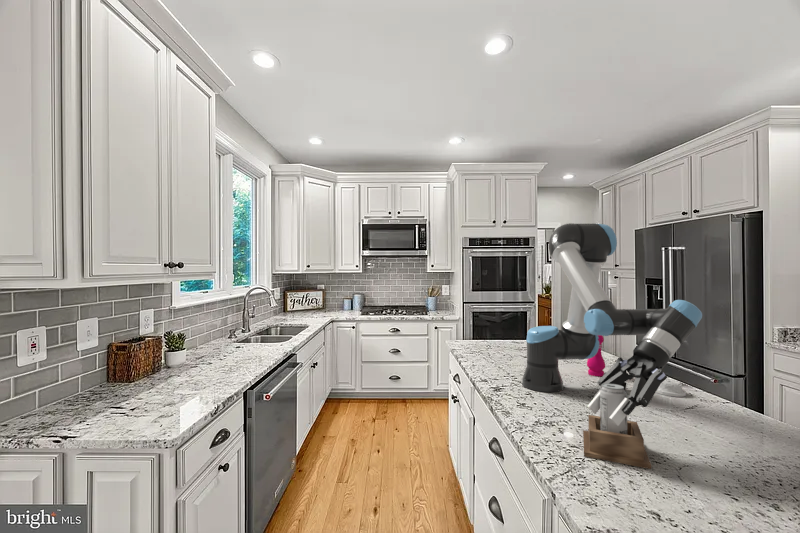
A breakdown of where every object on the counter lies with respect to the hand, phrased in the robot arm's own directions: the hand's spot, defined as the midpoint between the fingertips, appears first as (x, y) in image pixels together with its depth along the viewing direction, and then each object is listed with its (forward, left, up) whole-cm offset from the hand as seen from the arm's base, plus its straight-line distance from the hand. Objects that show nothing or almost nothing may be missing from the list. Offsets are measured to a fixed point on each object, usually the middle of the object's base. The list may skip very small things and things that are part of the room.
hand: (602, 415), depth 95 cm
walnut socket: (+3, +2, -9) cm, 10 cm away
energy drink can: (+3, +2, -8) cm, 9 cm away
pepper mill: (+2, +78, -9) cm, 79 cm away
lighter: (+7, +60, -9) cm, 61 cm away
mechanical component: (+26, +63, -9) cm, 69 cm away
